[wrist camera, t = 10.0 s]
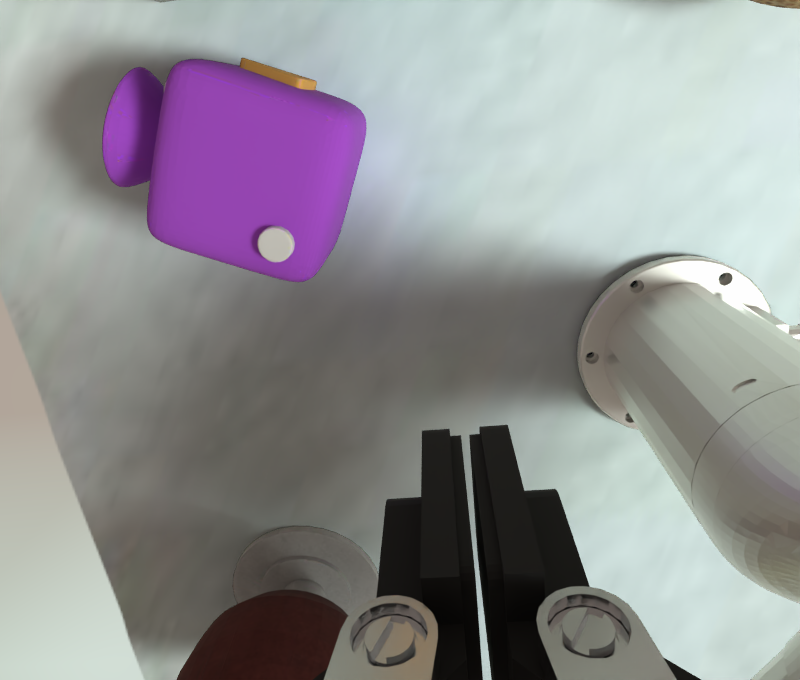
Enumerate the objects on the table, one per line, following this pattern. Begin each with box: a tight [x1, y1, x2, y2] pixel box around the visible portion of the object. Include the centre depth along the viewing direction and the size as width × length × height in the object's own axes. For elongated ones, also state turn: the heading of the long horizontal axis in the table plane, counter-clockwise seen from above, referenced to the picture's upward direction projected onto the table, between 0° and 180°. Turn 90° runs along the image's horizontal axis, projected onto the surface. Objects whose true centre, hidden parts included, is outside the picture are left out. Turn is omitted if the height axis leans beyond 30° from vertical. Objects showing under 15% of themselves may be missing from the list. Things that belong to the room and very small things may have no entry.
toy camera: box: [102, 58, 366, 282], centre depth 33 cm, size 11×14×10 cm
